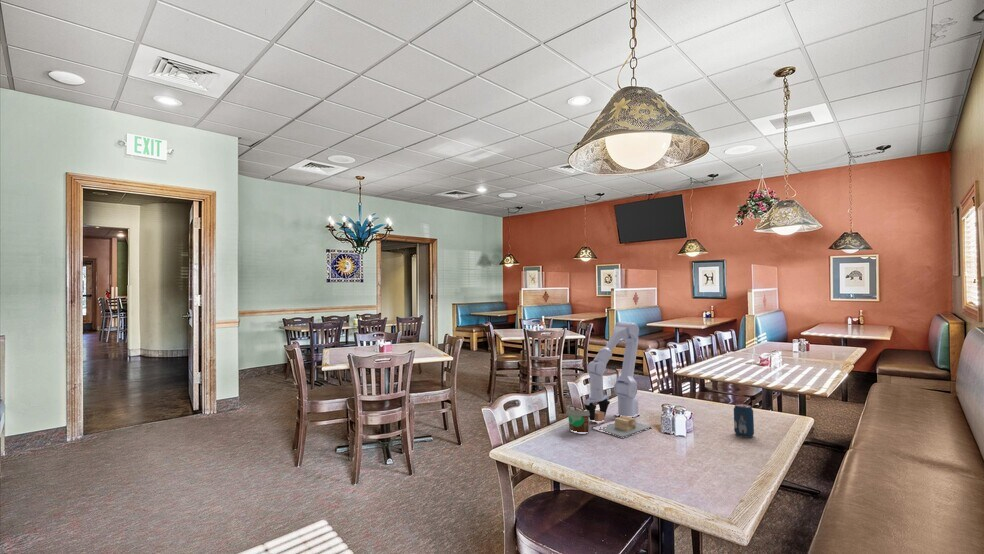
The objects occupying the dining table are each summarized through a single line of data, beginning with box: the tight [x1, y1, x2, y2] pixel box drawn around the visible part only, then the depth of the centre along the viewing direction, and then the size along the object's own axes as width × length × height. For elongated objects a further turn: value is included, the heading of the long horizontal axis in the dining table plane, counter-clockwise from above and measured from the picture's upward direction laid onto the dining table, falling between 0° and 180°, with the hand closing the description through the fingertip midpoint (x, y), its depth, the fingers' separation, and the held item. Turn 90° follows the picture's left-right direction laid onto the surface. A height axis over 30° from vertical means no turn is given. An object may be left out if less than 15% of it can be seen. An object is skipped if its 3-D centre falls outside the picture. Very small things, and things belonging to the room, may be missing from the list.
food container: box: [566, 403, 590, 433], centre depth 187 cm, size 12×6×10 cm, turn 25°
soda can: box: [733, 403, 755, 438], centre depth 179 cm, size 7×7×12 cm
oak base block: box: [614, 416, 637, 431], centre depth 188 cm, size 6×6×4 cm
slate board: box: [599, 422, 652, 439], centre depth 190 cm, size 20×16×1 cm
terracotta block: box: [594, 409, 606, 421], centre depth 200 cm, size 4×4×4 cm
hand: (597, 418), depth 200 cm, fingers open, 7 cm apart
